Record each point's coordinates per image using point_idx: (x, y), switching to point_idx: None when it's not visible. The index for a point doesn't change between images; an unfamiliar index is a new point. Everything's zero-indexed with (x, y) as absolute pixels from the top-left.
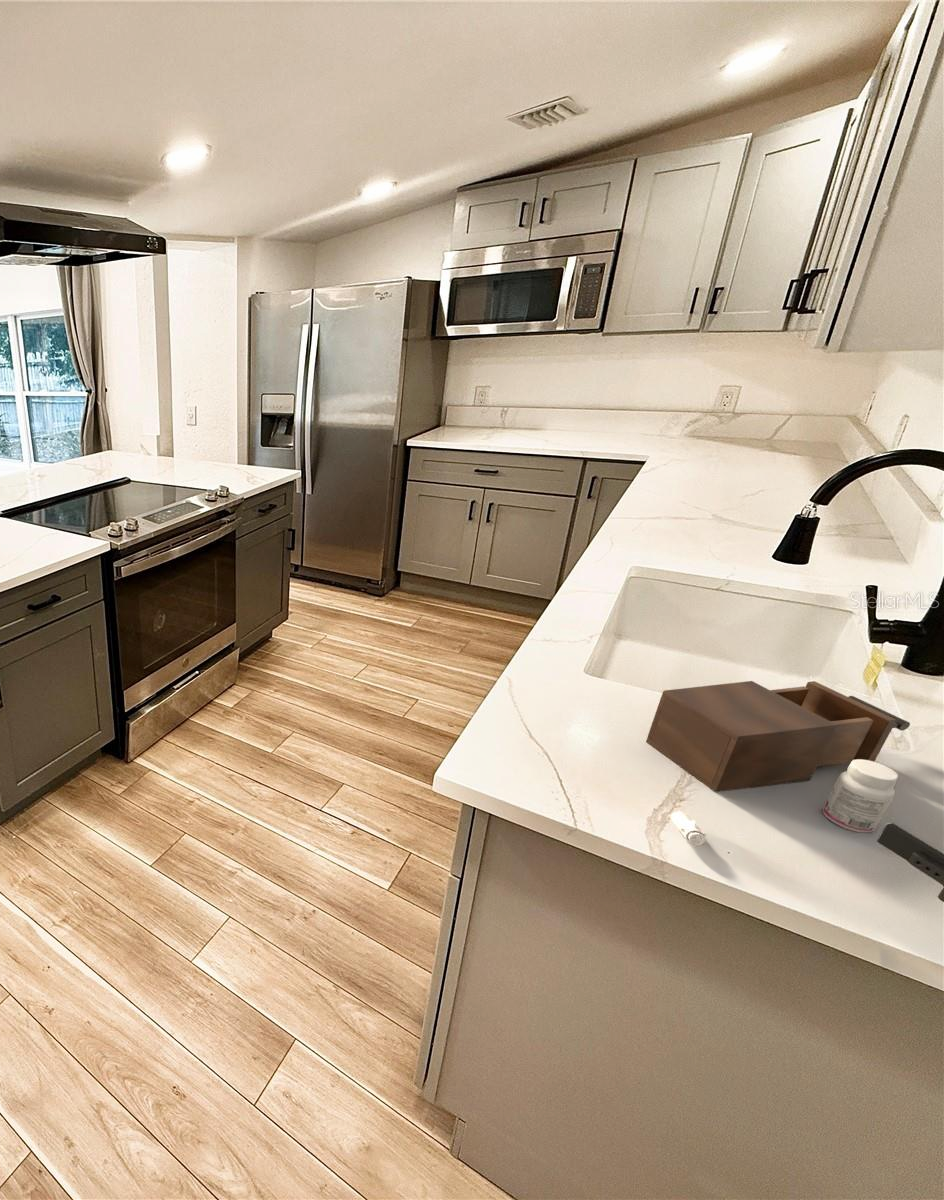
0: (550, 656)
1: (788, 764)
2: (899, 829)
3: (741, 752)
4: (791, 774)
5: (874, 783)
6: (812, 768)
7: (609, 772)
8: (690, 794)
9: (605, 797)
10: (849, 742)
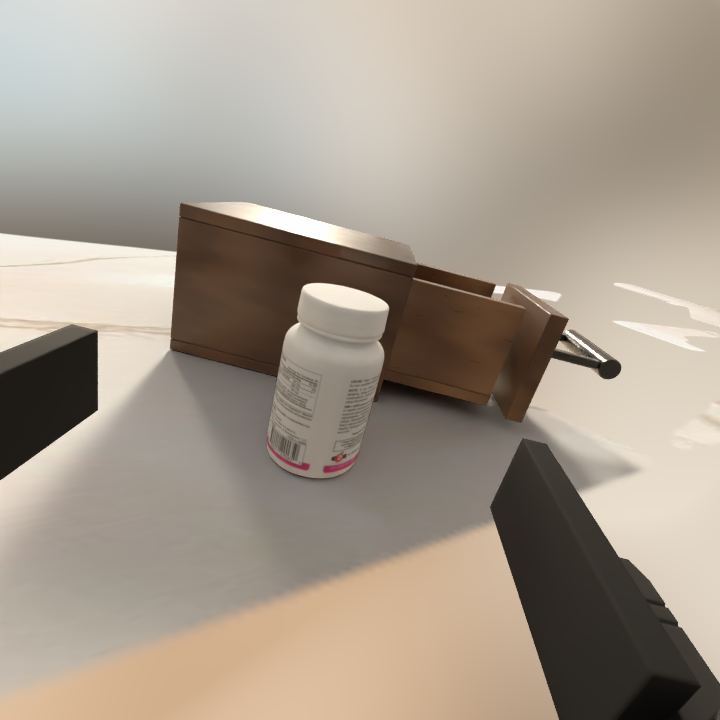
0: None
1: None
2: (61, 337)
3: (199, 256)
4: None
5: (306, 315)
6: None
7: (79, 291)
8: (119, 336)
9: None
10: (475, 350)
